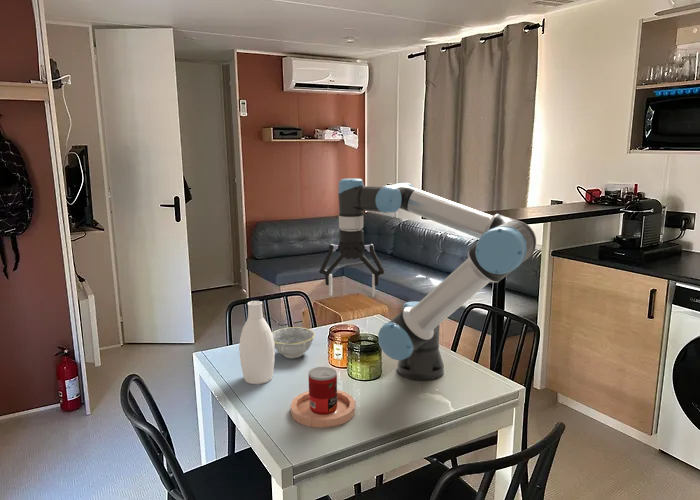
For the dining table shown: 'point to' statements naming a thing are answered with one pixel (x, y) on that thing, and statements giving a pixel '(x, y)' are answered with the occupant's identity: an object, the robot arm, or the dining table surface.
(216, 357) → the dining table surface
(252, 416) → the dining table surface
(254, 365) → the bottle
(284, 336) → the bowl
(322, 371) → the canned food
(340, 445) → the dining table surface
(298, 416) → the tray
